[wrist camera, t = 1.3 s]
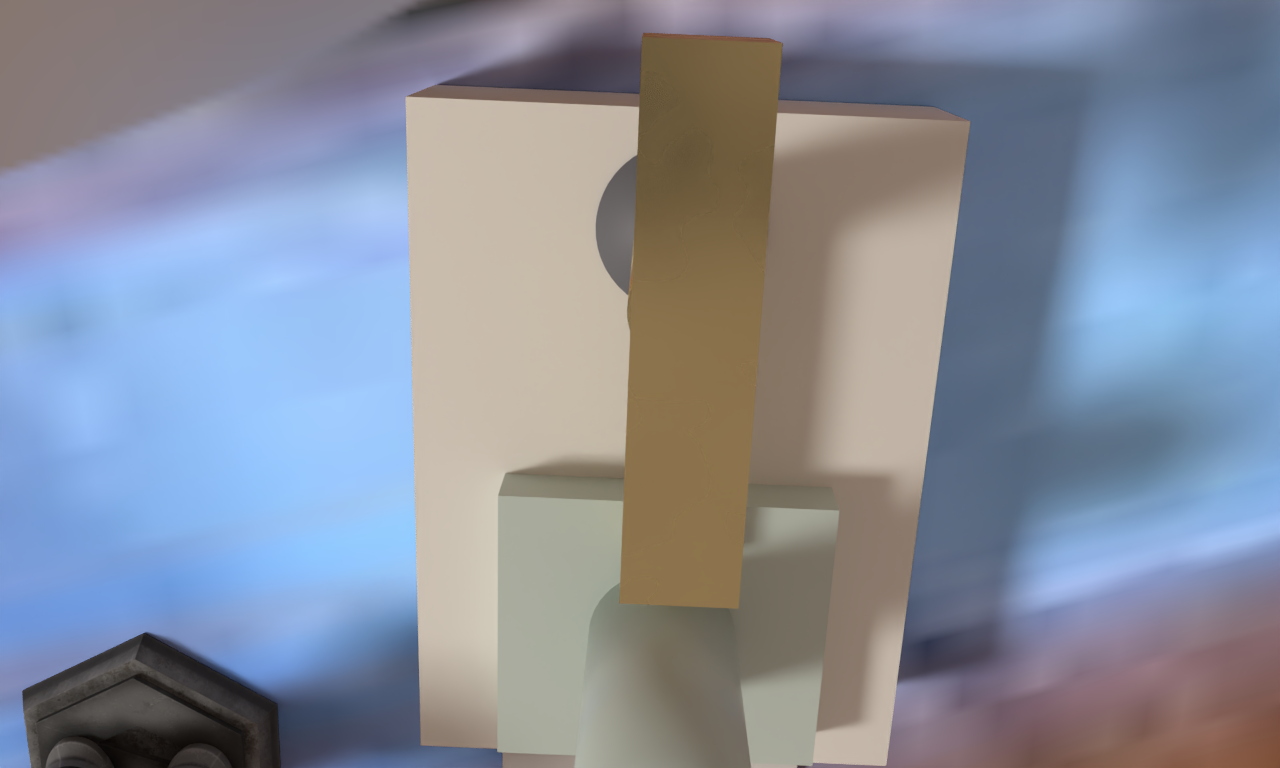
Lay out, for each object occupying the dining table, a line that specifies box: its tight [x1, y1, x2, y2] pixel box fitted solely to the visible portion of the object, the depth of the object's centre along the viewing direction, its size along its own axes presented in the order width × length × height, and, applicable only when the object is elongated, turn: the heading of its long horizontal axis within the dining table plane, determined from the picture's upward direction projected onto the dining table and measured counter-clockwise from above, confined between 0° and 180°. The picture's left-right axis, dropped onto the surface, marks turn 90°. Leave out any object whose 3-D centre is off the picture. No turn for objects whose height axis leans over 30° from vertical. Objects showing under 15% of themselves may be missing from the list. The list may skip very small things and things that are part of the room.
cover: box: [497, 473, 840, 768], centre depth 28 cm, size 8×9×10 cm
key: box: [619, 33, 783, 609], centre depth 25 cm, size 14×2×10 cm, turn 178°
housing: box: [406, 85, 970, 766], centre depth 33 cm, size 19×14×4 cm
